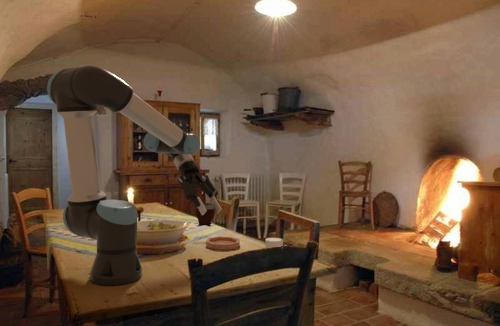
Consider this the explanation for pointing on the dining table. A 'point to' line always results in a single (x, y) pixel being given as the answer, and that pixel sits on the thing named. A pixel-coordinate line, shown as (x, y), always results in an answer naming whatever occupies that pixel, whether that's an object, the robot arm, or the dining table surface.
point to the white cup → (273, 242)
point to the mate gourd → (206, 213)
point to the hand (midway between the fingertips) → (211, 211)
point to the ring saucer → (222, 243)
